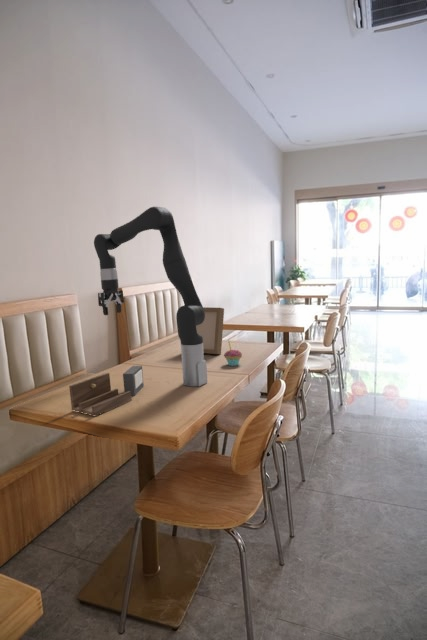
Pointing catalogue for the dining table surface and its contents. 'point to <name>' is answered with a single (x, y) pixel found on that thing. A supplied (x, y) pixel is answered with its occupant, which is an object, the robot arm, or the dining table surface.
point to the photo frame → (212, 330)
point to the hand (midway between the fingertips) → (112, 313)
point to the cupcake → (233, 356)
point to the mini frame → (133, 380)
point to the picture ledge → (96, 395)
